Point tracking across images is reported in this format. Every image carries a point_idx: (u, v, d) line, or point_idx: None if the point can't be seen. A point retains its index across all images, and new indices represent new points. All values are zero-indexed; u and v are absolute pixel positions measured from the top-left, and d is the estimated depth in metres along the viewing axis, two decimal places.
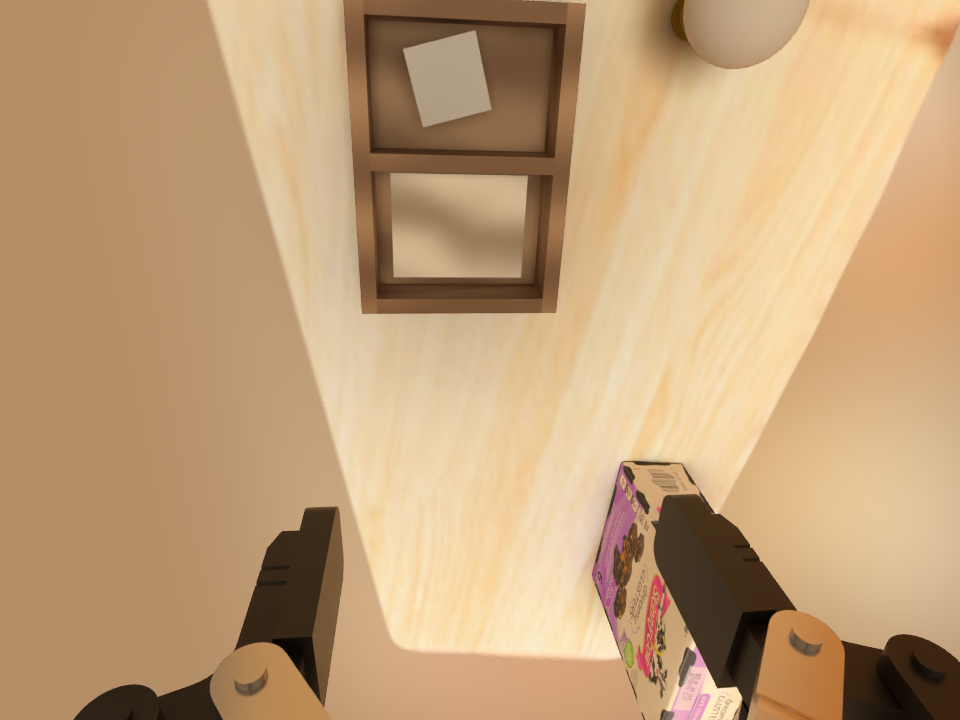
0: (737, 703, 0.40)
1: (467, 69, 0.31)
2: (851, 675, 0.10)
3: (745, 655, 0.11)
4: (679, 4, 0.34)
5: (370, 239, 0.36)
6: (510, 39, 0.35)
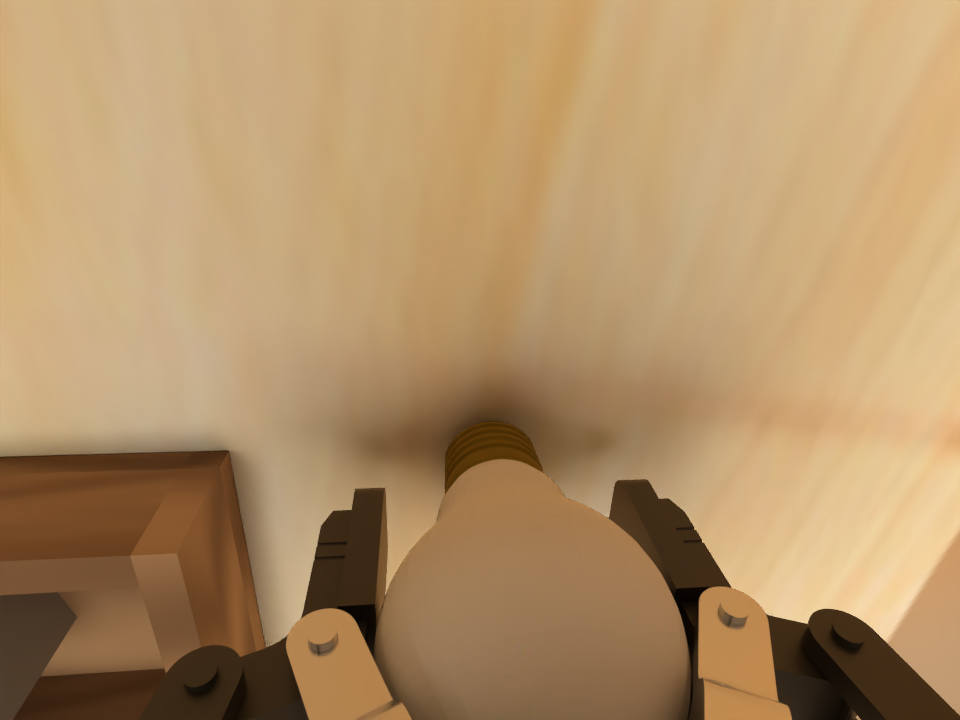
0: None
1: None
2: (776, 647, 0.11)
3: None
4: (449, 461, 0.16)
5: None
6: None
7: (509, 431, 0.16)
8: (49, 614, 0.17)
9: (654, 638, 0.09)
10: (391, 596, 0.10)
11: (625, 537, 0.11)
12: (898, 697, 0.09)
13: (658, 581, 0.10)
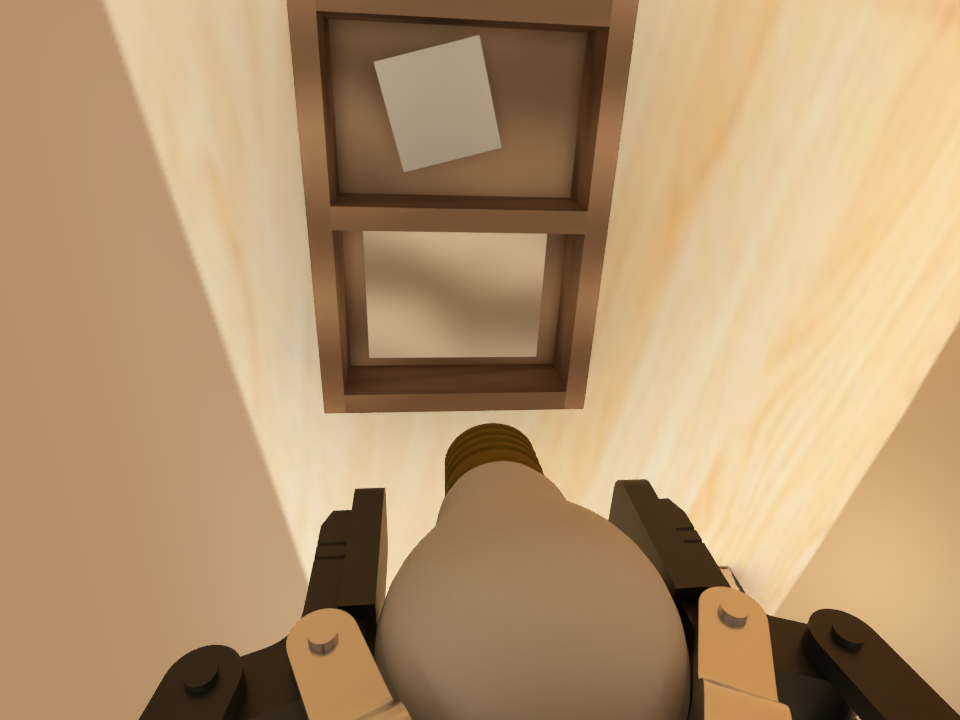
0: None
1: (466, 91, 0.22)
2: (776, 647, 0.11)
3: None
4: (449, 463, 0.16)
5: (333, 320, 0.26)
6: (527, 47, 0.25)
7: (509, 433, 0.16)
8: None
9: (653, 640, 0.09)
10: (391, 598, 0.10)
11: (625, 539, 0.11)
12: (898, 697, 0.09)
13: (658, 583, 0.10)
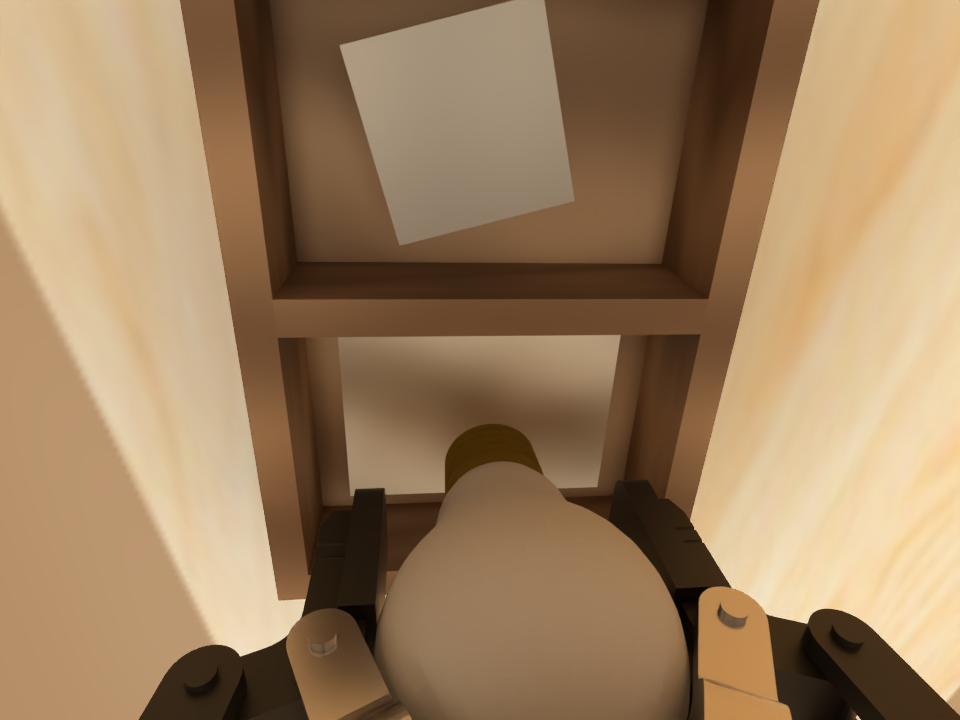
0: None
1: (515, 101, 0.12)
2: (776, 647, 0.11)
3: None
4: (449, 463, 0.16)
5: (286, 472, 0.16)
6: (607, 24, 0.15)
7: (509, 433, 0.16)
8: None
9: (654, 641, 0.09)
10: (391, 599, 0.10)
11: (625, 540, 0.11)
12: (898, 697, 0.09)
13: (657, 584, 0.10)
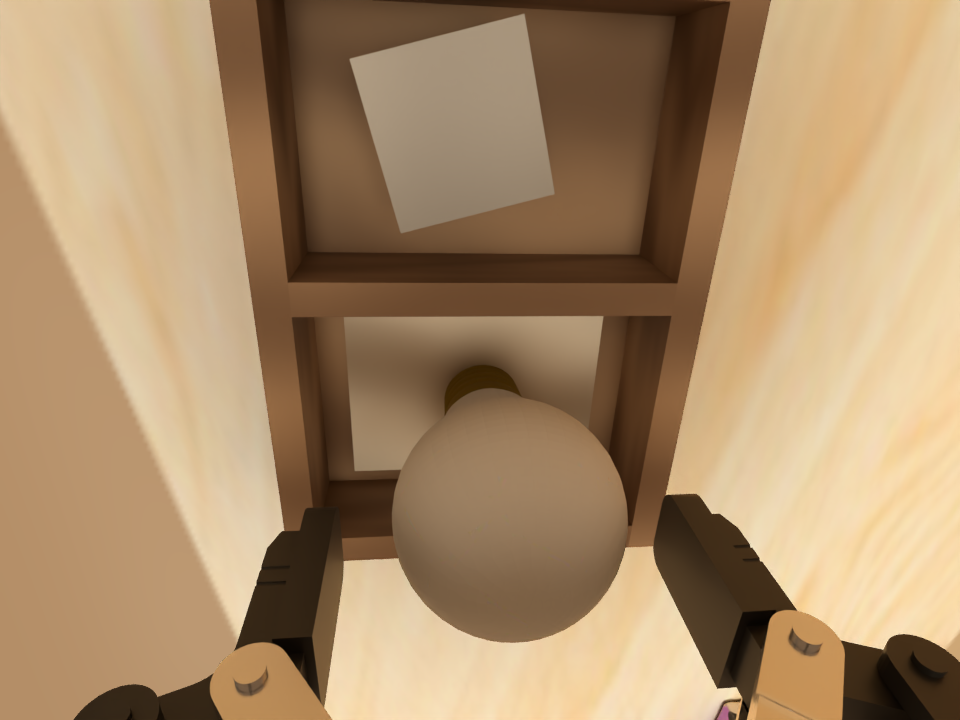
0: None
1: (502, 106, 0.13)
2: (851, 675, 0.10)
3: (745, 655, 0.11)
4: (448, 395, 0.19)
5: (298, 441, 0.18)
6: (585, 38, 0.17)
7: (497, 371, 0.19)
8: None
9: (596, 480, 0.13)
10: (406, 465, 0.14)
11: (580, 423, 0.14)
12: None
13: (603, 451, 0.14)
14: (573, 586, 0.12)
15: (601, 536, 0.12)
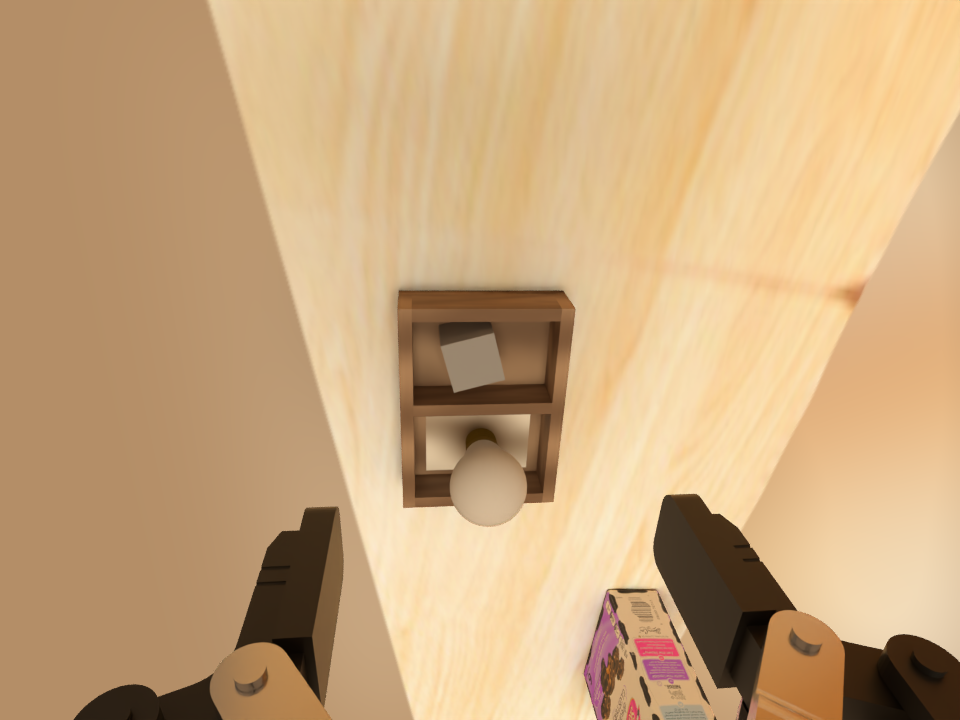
0: None
1: (487, 356, 0.43)
2: (851, 675, 0.10)
3: (745, 655, 0.11)
4: (467, 440, 0.48)
5: (411, 459, 0.47)
6: None
7: (486, 431, 0.49)
8: None
9: (513, 476, 0.42)
10: (454, 470, 0.43)
11: (512, 457, 0.43)
12: None
13: (518, 466, 0.43)
14: (505, 507, 0.41)
15: (514, 492, 0.42)
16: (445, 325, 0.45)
